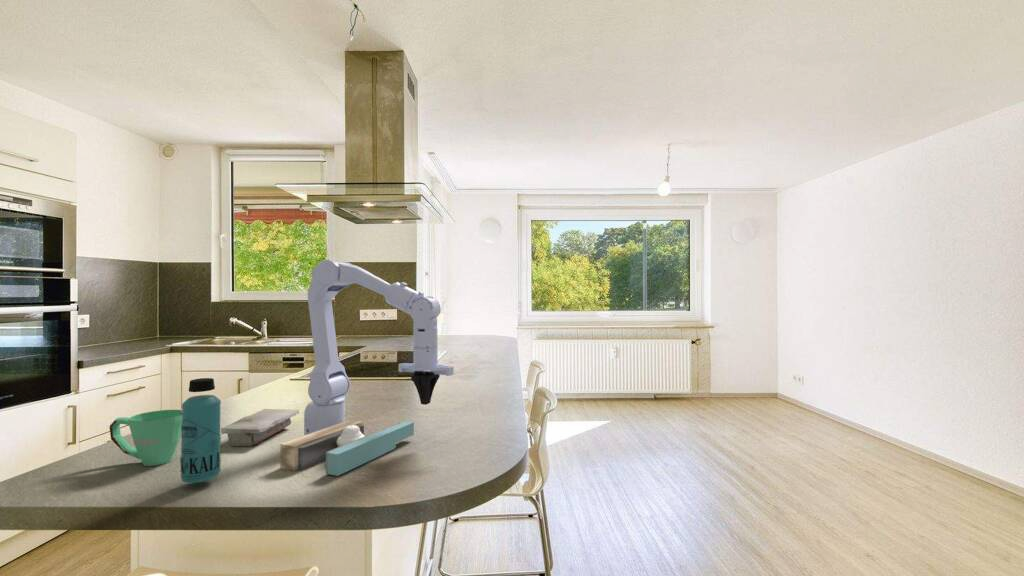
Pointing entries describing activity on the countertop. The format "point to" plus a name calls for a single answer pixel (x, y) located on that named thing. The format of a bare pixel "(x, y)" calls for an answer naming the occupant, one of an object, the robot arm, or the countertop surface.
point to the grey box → (258, 426)
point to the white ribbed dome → (349, 435)
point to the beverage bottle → (200, 434)
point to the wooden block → (312, 447)
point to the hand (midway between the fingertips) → (425, 403)
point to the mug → (150, 435)
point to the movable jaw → (366, 448)
